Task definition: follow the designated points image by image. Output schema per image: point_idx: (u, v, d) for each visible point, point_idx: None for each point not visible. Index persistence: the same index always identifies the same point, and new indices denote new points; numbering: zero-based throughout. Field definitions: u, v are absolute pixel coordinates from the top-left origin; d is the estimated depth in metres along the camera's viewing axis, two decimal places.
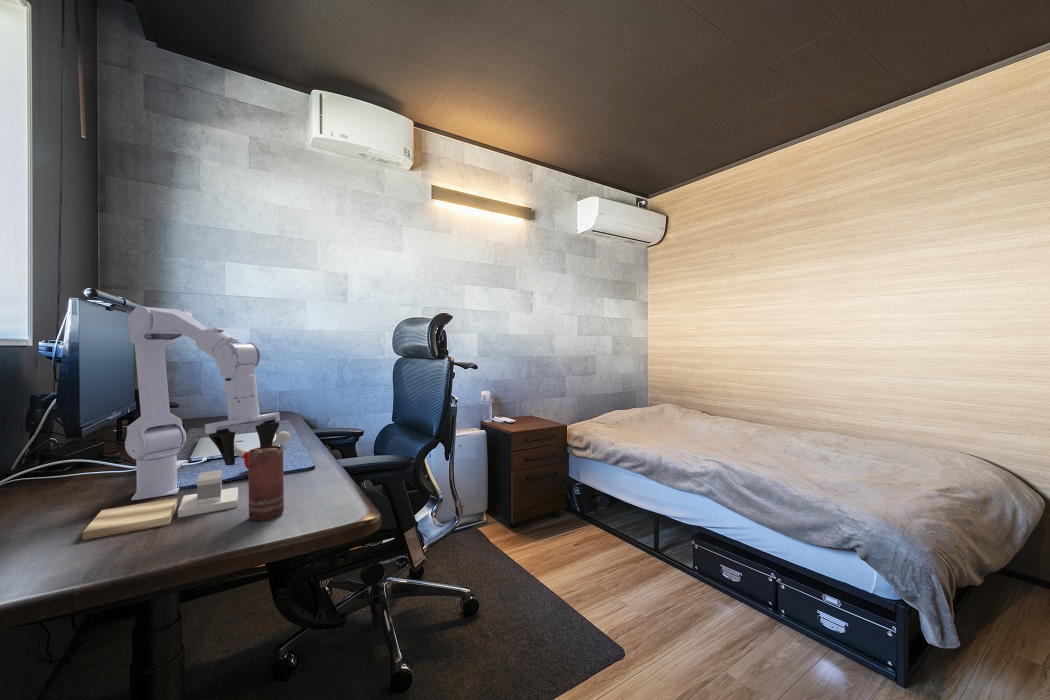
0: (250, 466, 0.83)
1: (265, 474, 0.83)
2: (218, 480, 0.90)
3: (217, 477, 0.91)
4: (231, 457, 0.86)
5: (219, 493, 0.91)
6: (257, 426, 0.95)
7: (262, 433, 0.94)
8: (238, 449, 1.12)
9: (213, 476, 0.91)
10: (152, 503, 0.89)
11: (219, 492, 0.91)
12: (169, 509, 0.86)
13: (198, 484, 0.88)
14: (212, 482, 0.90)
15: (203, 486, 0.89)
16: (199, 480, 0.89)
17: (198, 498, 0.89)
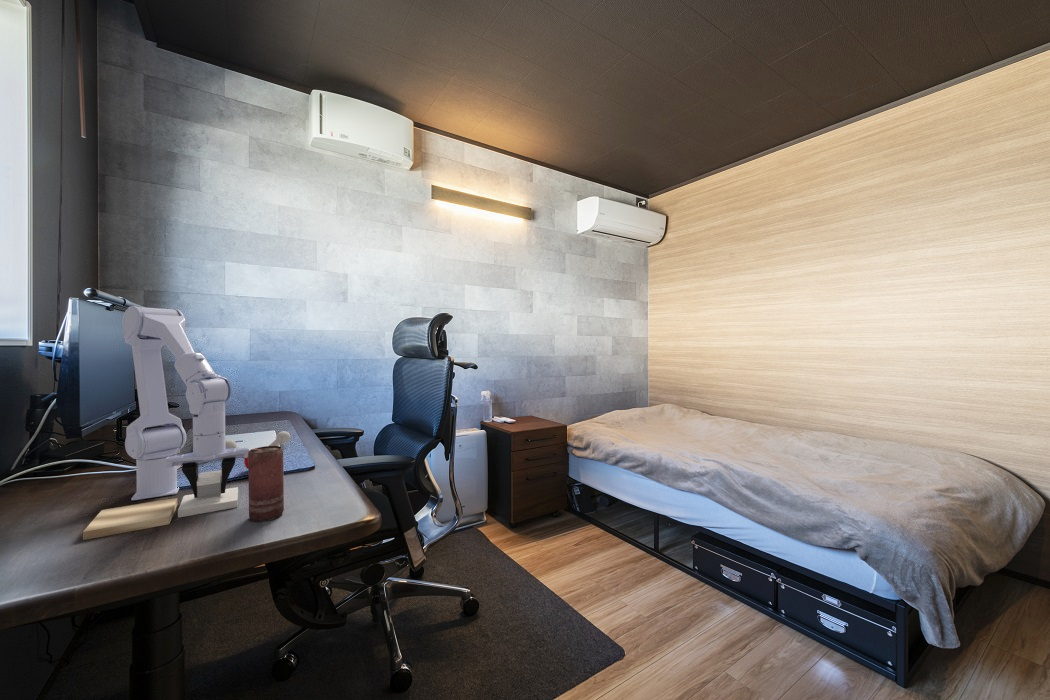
0: (250, 466, 0.83)
1: (265, 474, 0.83)
2: (218, 480, 0.90)
3: (217, 477, 0.91)
4: (194, 490, 0.90)
5: (219, 493, 0.91)
6: None
7: None
8: None
9: (213, 476, 0.91)
10: (152, 503, 0.89)
11: (219, 492, 0.91)
12: (169, 509, 0.86)
13: (198, 484, 0.88)
14: (212, 482, 0.90)
15: (203, 486, 0.89)
16: (199, 480, 0.89)
17: (198, 498, 0.89)
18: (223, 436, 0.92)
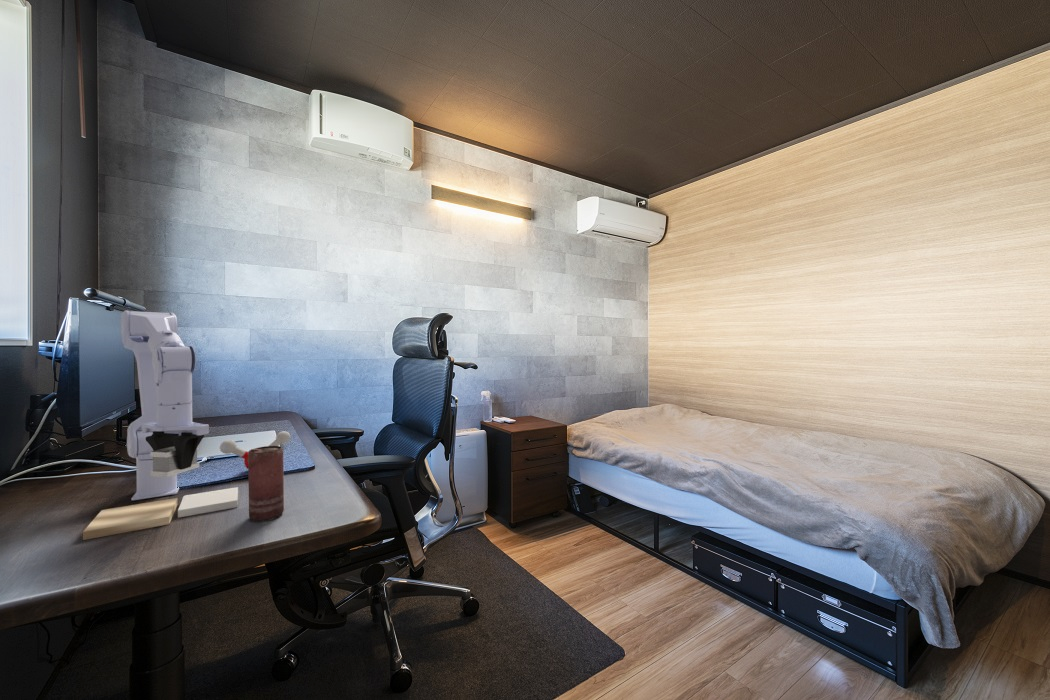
0: (250, 466, 0.83)
1: (265, 474, 0.83)
2: (165, 454, 0.84)
3: (168, 451, 0.85)
4: None
5: (168, 469, 0.85)
6: None
7: None
8: (238, 449, 1.12)
9: (171, 449, 0.87)
10: (152, 503, 0.89)
11: (168, 467, 0.85)
12: (169, 509, 0.86)
13: (150, 455, 0.85)
14: (161, 455, 0.85)
15: (156, 458, 0.85)
16: (154, 451, 0.85)
17: (153, 469, 0.85)
18: (179, 408, 0.86)
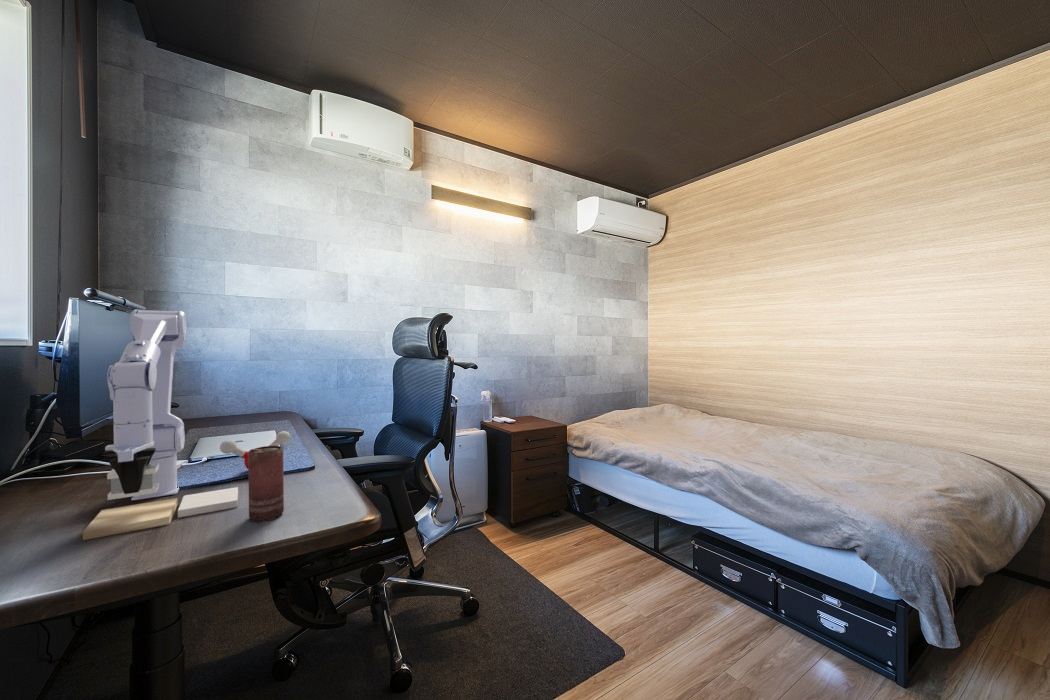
0: (250, 466, 0.83)
1: (265, 474, 0.83)
2: None
3: (112, 472, 0.81)
4: None
5: (111, 491, 0.81)
6: None
7: None
8: (238, 449, 1.12)
9: None
10: (152, 503, 0.89)
11: (111, 490, 0.81)
12: (169, 509, 0.86)
13: None
14: None
15: None
16: None
17: None
18: (122, 429, 0.81)
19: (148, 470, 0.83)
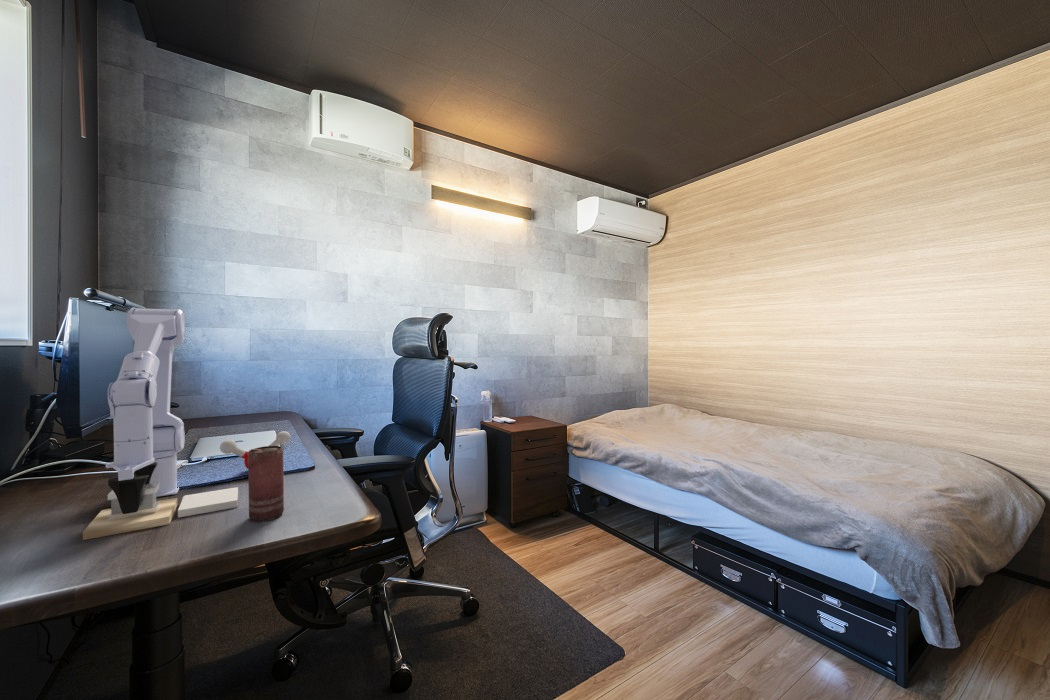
0: (250, 466, 0.83)
1: (265, 474, 0.83)
2: (108, 497, 0.81)
3: (113, 493, 0.81)
4: None
5: (111, 512, 0.81)
6: None
7: None
8: (238, 449, 1.12)
9: None
10: None
11: None
12: (169, 509, 0.86)
13: None
14: None
15: None
16: None
17: None
18: (122, 446, 0.81)
19: (148, 490, 0.83)
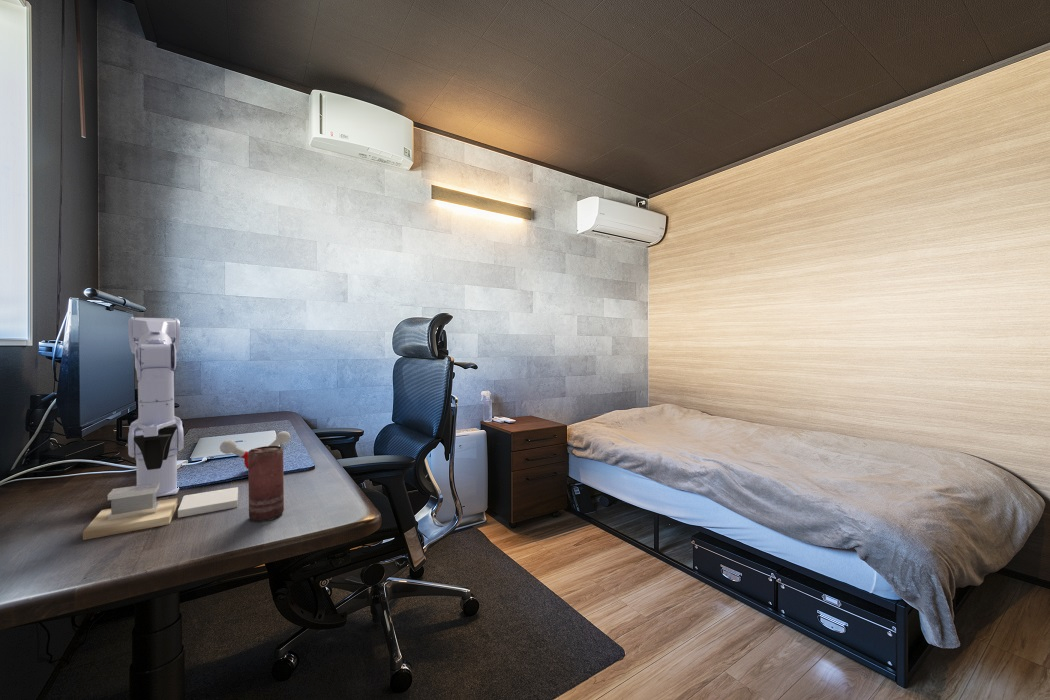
0: (250, 466, 0.83)
1: (265, 474, 0.83)
2: (108, 497, 0.81)
3: (113, 493, 0.81)
4: None
5: (111, 512, 0.81)
6: None
7: None
8: (238, 449, 1.12)
9: (123, 490, 0.82)
10: None
11: None
12: (169, 509, 0.86)
13: None
14: None
15: None
16: (116, 489, 0.84)
17: None
18: (146, 406, 0.86)
19: (148, 490, 0.83)
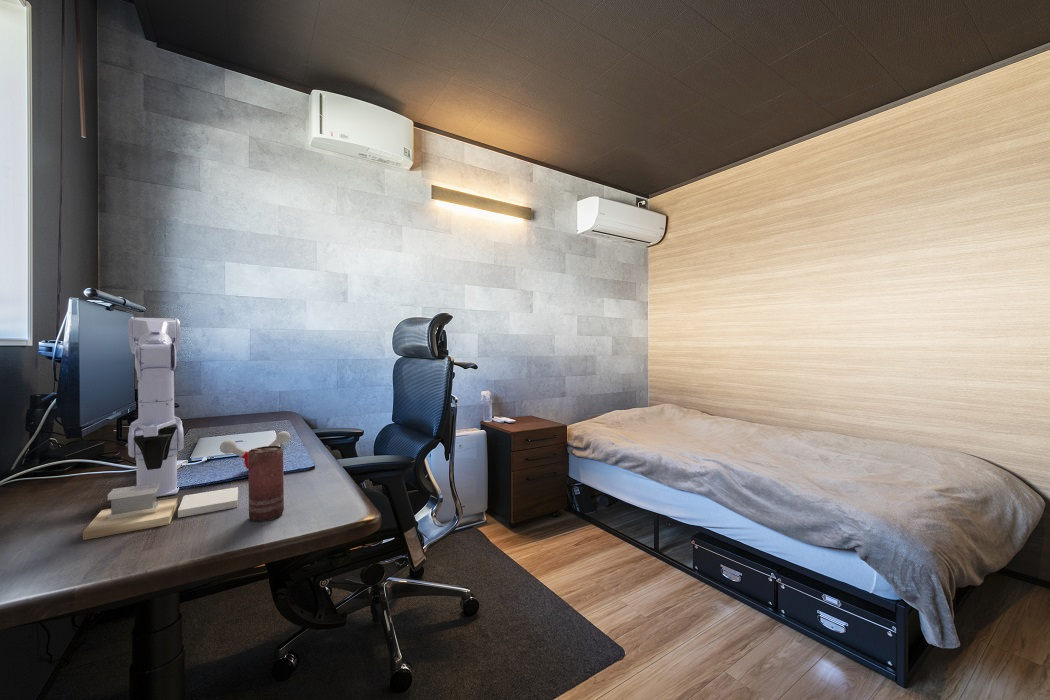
0: (250, 466, 0.83)
1: (265, 474, 0.83)
2: (108, 497, 0.81)
3: (113, 493, 0.81)
4: None
5: (111, 512, 0.81)
6: None
7: None
8: (238, 449, 1.12)
9: (123, 490, 0.82)
10: None
11: None
12: (169, 509, 0.86)
13: None
14: None
15: None
16: (116, 489, 0.84)
17: None
18: (146, 406, 0.86)
19: (148, 490, 0.83)
